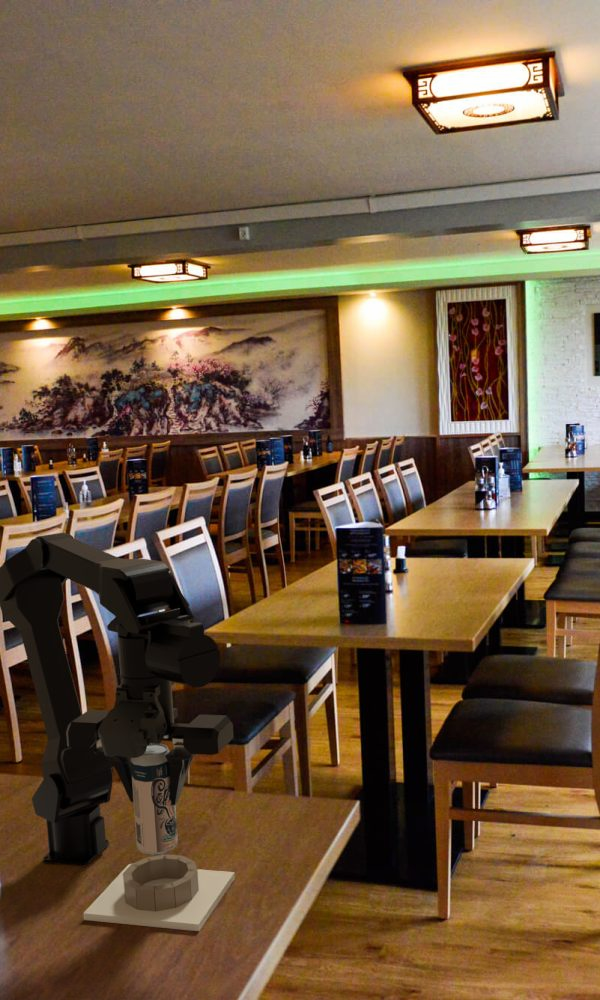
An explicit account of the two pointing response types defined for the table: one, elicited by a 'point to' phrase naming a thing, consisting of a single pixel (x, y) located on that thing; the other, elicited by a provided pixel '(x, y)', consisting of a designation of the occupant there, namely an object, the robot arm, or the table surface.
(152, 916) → the socket board
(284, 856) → the table surface
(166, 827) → the beer can
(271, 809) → the table surface
